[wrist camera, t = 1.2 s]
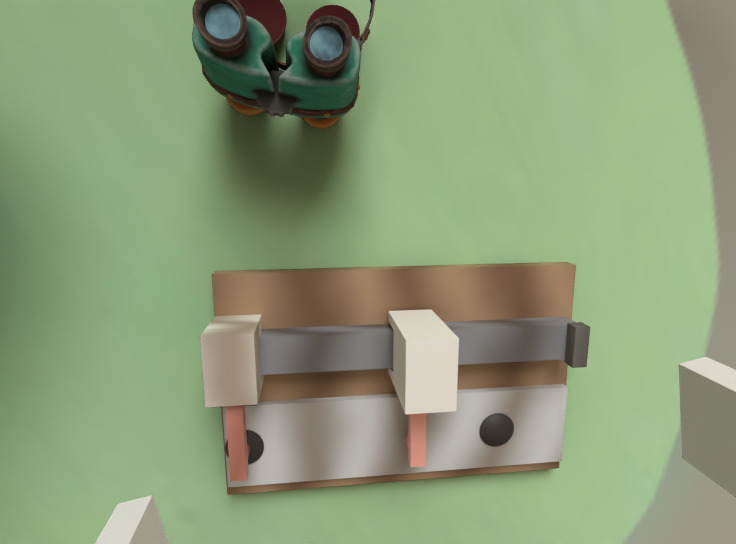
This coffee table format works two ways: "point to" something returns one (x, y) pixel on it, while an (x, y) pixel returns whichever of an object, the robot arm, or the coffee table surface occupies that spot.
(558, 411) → the gauge
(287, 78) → the binoculars
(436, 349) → the slider head
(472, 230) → the coffee table surface
